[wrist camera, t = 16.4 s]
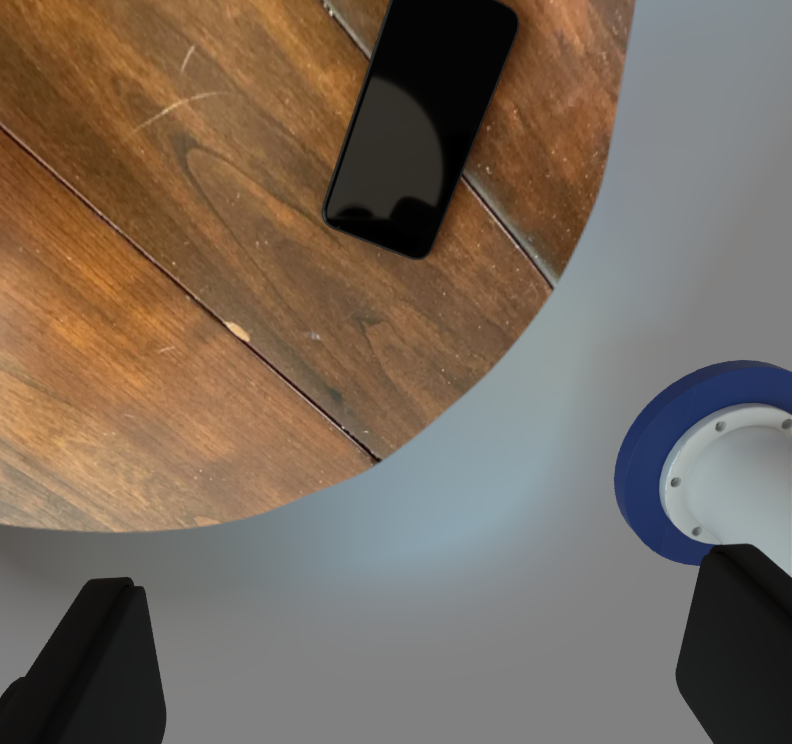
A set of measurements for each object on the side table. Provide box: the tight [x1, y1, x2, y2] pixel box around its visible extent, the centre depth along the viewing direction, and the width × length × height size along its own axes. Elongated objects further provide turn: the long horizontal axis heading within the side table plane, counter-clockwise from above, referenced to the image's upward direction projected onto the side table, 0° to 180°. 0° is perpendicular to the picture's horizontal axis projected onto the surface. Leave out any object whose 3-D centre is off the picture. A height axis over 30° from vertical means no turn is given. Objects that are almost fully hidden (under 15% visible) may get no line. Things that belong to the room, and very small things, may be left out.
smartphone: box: [322, 0, 519, 260], centre depth 32 cm, size 7×1×15 cm
